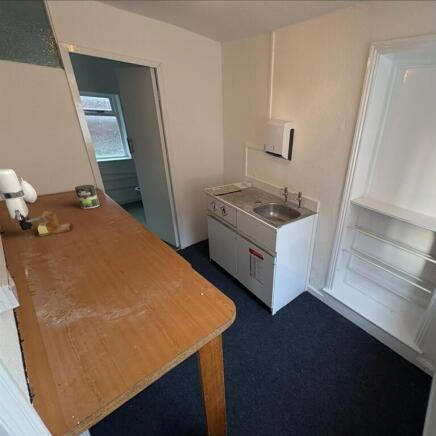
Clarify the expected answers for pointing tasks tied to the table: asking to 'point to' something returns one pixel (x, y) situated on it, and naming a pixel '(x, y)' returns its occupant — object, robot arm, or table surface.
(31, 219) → the ball knob on post
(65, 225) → the wooden toy catapult
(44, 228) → the butter
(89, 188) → the coffee can
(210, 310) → the table surface
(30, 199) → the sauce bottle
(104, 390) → the table surface
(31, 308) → the table surface
